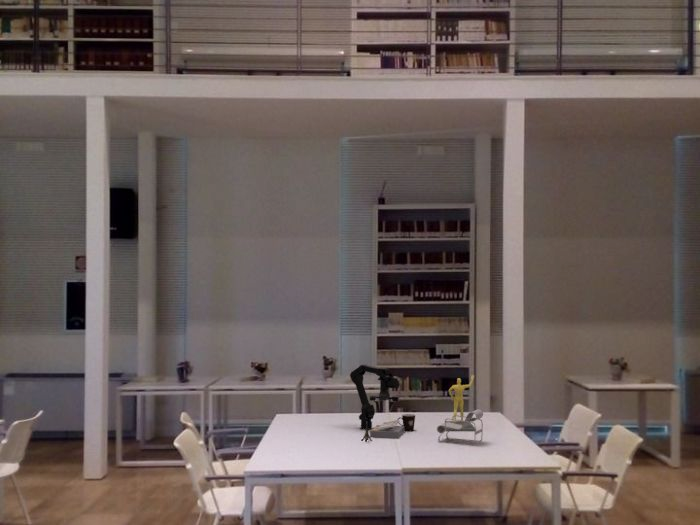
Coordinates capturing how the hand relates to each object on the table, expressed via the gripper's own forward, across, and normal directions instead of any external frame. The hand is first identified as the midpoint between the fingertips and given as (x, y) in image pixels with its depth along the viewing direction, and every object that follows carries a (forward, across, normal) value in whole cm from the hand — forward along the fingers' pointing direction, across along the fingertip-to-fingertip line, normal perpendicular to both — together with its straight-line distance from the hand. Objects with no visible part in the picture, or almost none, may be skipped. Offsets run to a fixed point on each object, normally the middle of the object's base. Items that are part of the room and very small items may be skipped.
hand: (384, 411), depth 520 cm
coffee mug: (+13, +13, +8) cm, 20 cm away
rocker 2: (+6, +5, -10) cm, 13 cm away
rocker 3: (+6, +5, -17) cm, 19 cm away
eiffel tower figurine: (+14, -5, -32) cm, 35 cm away
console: (+13, +4, -10) cm, 17 cm away
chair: (+13, +51, -22) cm, 57 cm away
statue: (+13, +46, +22) cm, 53 cm away
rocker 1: (+6, +5, -3) cm, 9 cm away
